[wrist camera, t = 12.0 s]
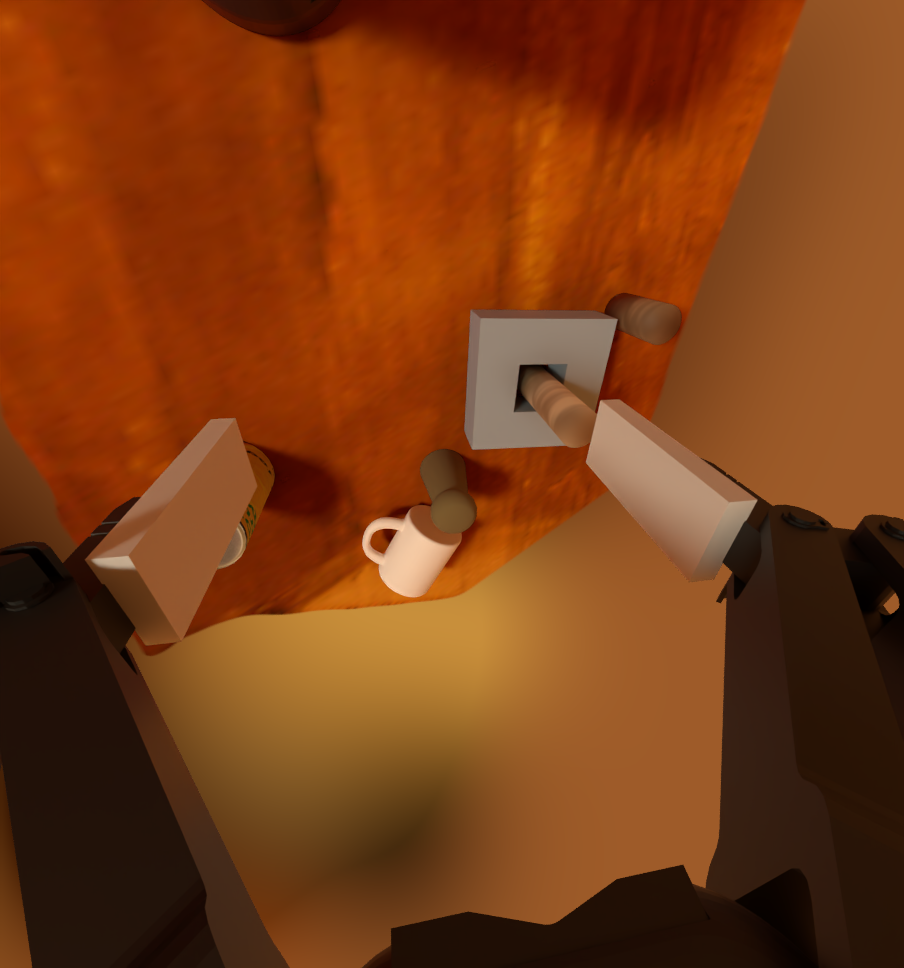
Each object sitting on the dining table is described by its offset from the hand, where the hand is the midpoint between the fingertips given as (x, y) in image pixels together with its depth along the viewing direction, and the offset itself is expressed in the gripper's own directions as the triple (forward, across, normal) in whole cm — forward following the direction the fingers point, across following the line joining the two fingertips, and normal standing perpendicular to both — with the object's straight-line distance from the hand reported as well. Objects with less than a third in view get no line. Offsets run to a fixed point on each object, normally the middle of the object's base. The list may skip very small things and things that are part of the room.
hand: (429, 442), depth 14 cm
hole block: (+30, +14, -8) cm, 34 cm away
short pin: (+30, +24, -1) cm, 39 cm away
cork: (+30, +4, -20) cm, 37 cm away
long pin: (+30, +14, -8) cm, 34 cm away
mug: (+30, -1, -29) cm, 42 cm away
